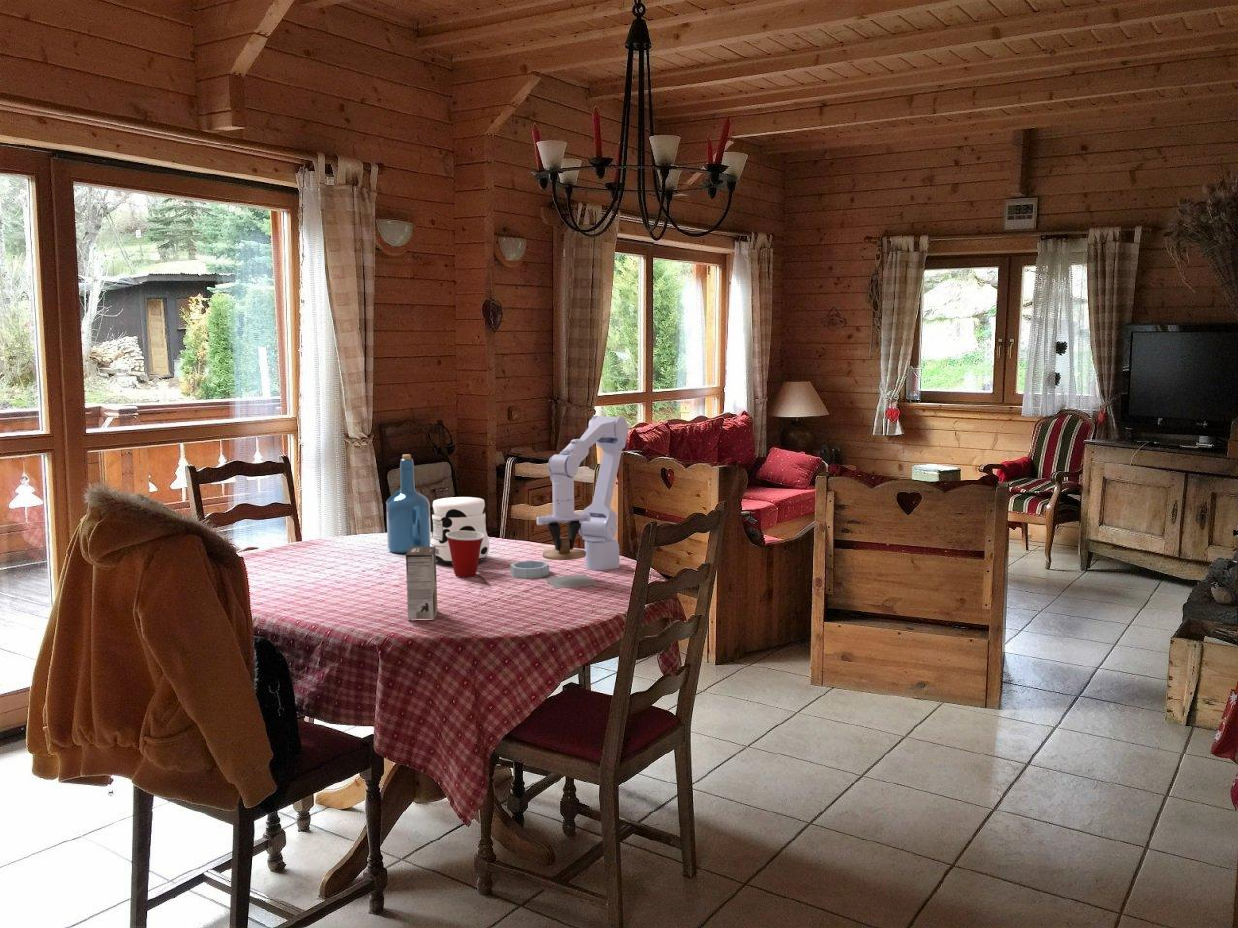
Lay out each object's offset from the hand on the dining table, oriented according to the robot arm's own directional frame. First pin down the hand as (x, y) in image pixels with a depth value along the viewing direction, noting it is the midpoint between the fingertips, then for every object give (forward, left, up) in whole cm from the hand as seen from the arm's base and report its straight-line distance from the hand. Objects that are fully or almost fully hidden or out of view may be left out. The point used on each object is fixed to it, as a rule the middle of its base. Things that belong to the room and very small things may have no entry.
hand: (564, 549), depth 274 cm
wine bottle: (+33, -59, -10) cm, 68 cm away
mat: (-1, +2, -9) cm, 10 cm away
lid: (0, 0, -2) cm, 2 cm away
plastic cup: (+23, -19, -10) cm, 31 cm away
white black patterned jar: (+21, -38, -10) cm, 44 cm away
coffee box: (+41, +18, -10) cm, 46 cm away
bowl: (+7, -11, -9) cm, 16 cm away
